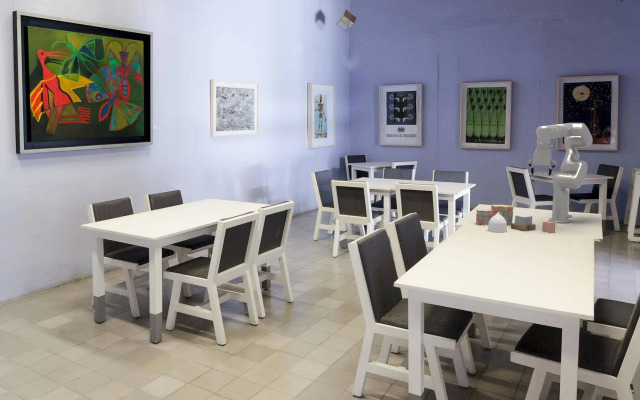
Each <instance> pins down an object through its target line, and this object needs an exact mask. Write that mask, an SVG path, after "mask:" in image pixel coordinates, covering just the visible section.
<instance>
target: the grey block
mask: <svg viewBox="0 0 640 400" xmlns="http://www.w3.org/2000/svg"><path fill="white" fill-rule="evenodd" d="M514 223H515V224H518V225H523V226H525V225H532V224H533V216H532V215H526V214H519V215H515V216H514Z"/></svg>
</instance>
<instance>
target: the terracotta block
mask: <svg viewBox="0 0 640 400" xmlns="http://www.w3.org/2000/svg"><path fill="white" fill-rule="evenodd" d="M556 225H557V224H556V222H551V221H549V220H547V221H542V225H541V227H542V229H541V231H542V232H543V233H546V232H547V234H553V233H556Z"/></svg>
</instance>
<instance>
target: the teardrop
mask: <svg viewBox="0 0 640 400" xmlns="http://www.w3.org/2000/svg"><path fill="white" fill-rule="evenodd" d="M487 231H488V232H490V233H495V234H497V233H498V234H503V233H507V232H508V225H507V222H506V220H505V219H504V217H502V216H501V215H500V214H499V212H498V213H497V214H496V215H495V216H493V217H492V218H491V219H490V220H489V223H488V225H487Z"/></svg>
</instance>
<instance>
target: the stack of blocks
mask: <svg viewBox="0 0 640 400" xmlns="http://www.w3.org/2000/svg"><path fill="white" fill-rule="evenodd" d="M498 212H499V214H500V215H501V216H502V217H504V219H505V220H506V222H507V226H508V227H509V226H510V227H511V223H513V218H514V217H513V216H514V206H513V205H508V204H507V205H506V204H490V209H487V208H486V209H485V208H484V209H483V208H479V209H478V208H477V209H476V216H475V223H476V224H477V225H479V226H488V223H489V220H490V219H491V218H492V217H493V216H495V215H496V214H497V213H498Z"/></svg>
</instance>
